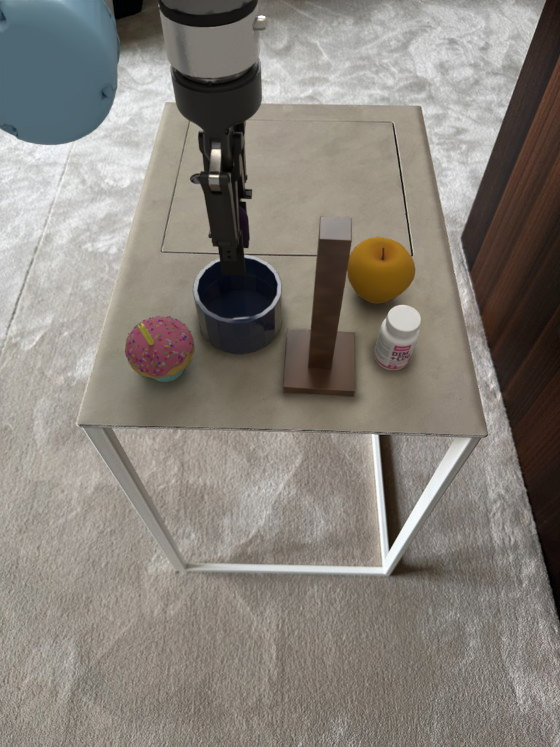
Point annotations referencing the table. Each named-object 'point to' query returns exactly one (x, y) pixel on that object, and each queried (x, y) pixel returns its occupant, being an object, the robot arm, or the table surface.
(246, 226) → the purple plum
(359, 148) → the table surface
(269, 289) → the pot
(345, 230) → the stand
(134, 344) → the cupcake
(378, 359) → the pill bottle
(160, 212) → the table surface
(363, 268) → the apple
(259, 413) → the table surface
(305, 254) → the table surface
